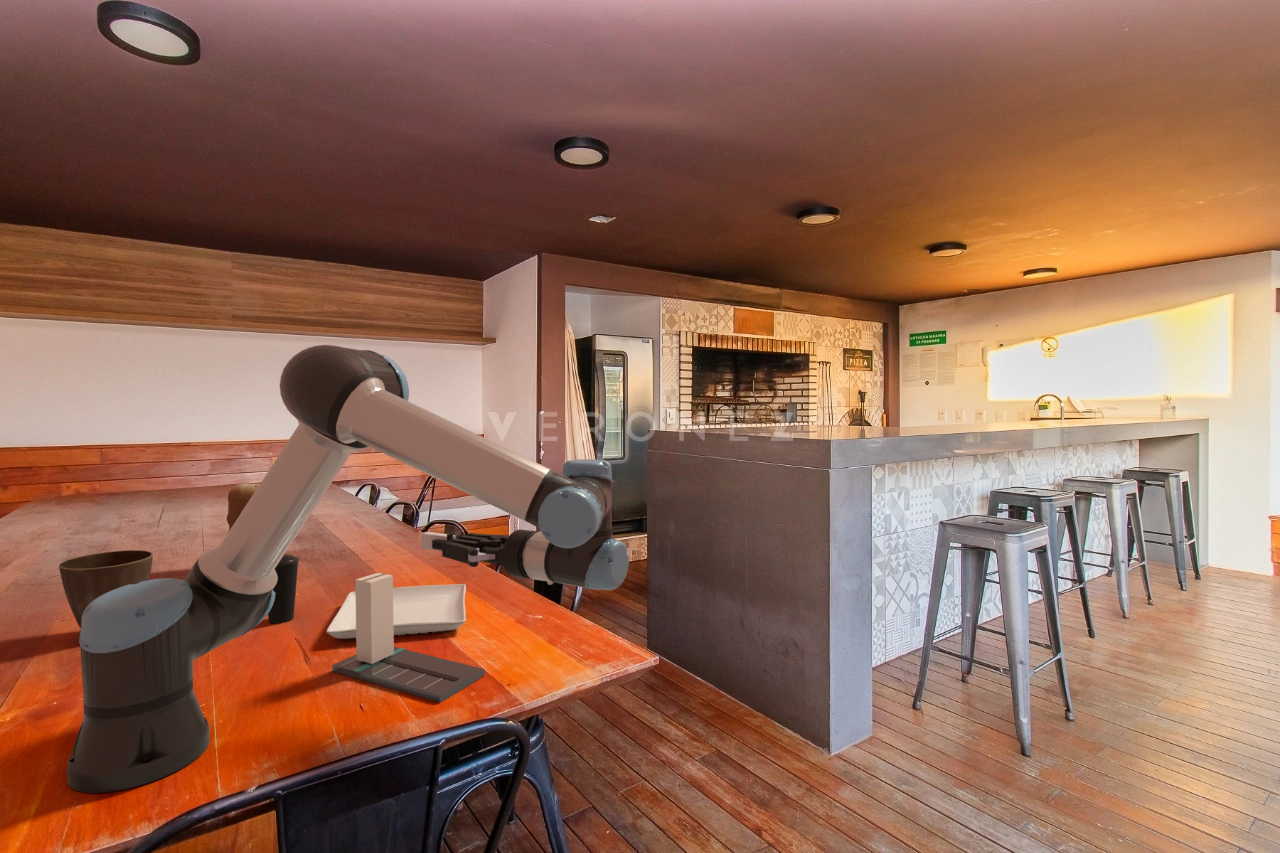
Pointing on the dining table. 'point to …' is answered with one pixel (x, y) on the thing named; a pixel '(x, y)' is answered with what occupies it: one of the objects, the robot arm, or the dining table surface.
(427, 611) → the square plate
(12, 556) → the dining table surface
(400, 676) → the dark grey marked board
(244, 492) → the butternut squash
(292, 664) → the dining table surface
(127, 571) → the plant pot
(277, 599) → the drinking cup
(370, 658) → the fader tab
